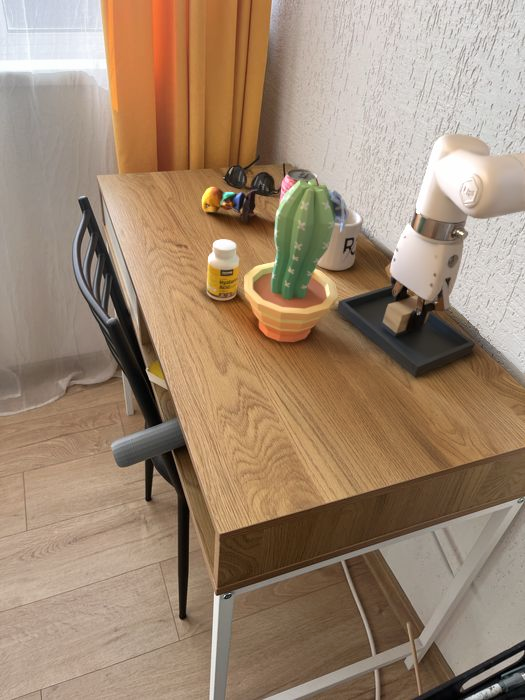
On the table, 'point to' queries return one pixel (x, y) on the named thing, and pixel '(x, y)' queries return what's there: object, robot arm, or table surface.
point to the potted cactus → (297, 264)
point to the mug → (342, 243)
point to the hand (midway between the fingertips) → (404, 321)
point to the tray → (413, 347)
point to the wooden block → (400, 316)
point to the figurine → (229, 202)
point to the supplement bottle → (222, 270)
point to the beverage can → (296, 179)
